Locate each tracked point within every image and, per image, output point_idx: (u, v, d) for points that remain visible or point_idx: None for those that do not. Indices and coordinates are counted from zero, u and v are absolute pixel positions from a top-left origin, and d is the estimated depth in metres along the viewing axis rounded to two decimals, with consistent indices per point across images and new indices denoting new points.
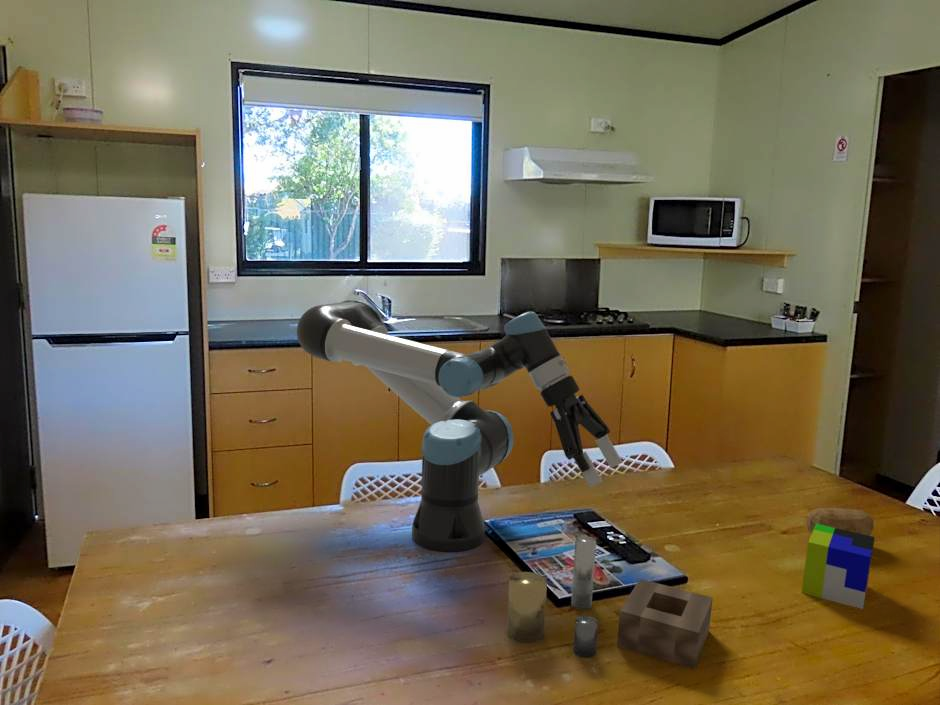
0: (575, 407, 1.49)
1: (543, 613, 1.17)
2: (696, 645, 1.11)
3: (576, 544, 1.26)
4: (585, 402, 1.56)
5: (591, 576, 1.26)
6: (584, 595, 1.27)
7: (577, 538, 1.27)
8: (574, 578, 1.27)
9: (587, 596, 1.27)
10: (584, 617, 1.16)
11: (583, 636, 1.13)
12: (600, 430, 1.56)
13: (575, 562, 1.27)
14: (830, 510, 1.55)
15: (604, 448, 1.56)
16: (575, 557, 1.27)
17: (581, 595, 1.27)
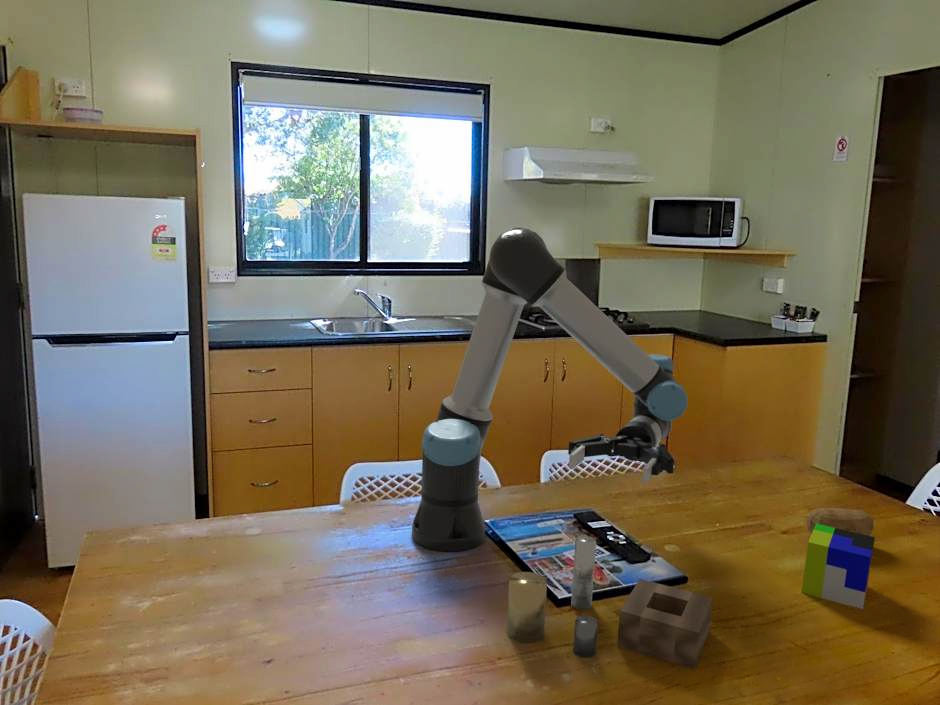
0: None
1: (543, 613, 1.17)
2: (696, 645, 1.11)
3: (576, 544, 1.26)
4: None
5: (591, 576, 1.26)
6: (584, 595, 1.27)
7: (577, 538, 1.27)
8: (574, 578, 1.27)
9: (587, 596, 1.27)
10: (584, 617, 1.15)
11: (583, 636, 1.13)
12: (587, 455, 1.43)
13: (575, 562, 1.27)
14: (830, 510, 1.55)
15: (580, 454, 1.40)
16: (575, 557, 1.27)
17: (581, 595, 1.27)
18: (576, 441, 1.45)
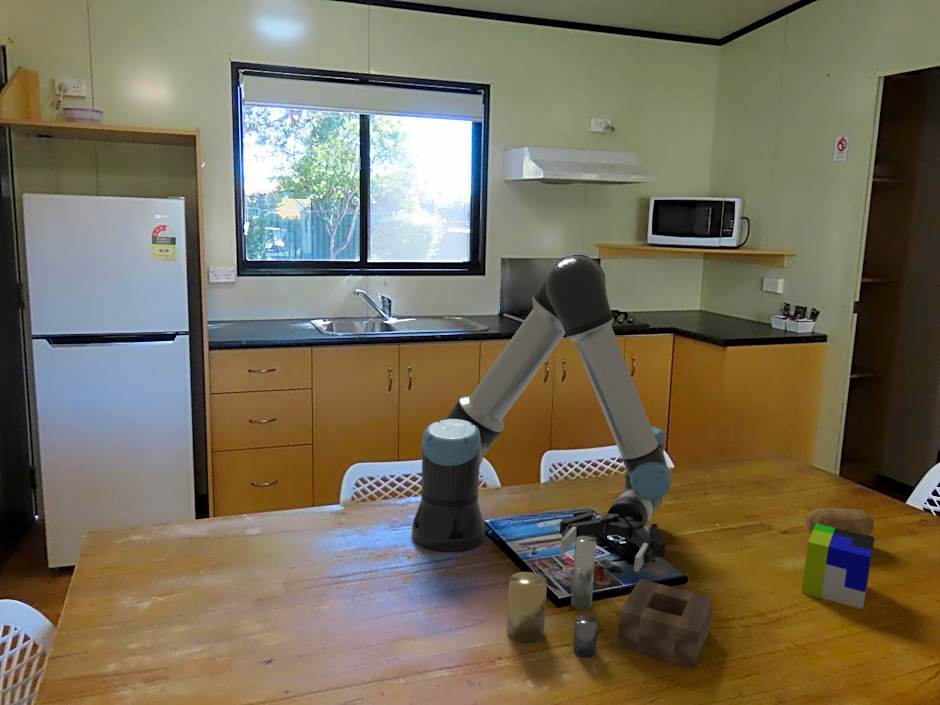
0: None
1: (543, 613, 1.17)
2: (696, 645, 1.11)
3: (576, 544, 1.26)
4: None
5: (591, 576, 1.26)
6: (584, 595, 1.27)
7: (577, 538, 1.27)
8: (574, 578, 1.27)
9: (587, 596, 1.27)
10: (584, 617, 1.15)
11: (583, 636, 1.13)
12: (578, 535, 1.42)
13: (575, 562, 1.27)
14: (830, 510, 1.55)
15: (572, 536, 1.39)
16: (575, 557, 1.27)
17: (581, 595, 1.27)
18: (568, 520, 1.44)
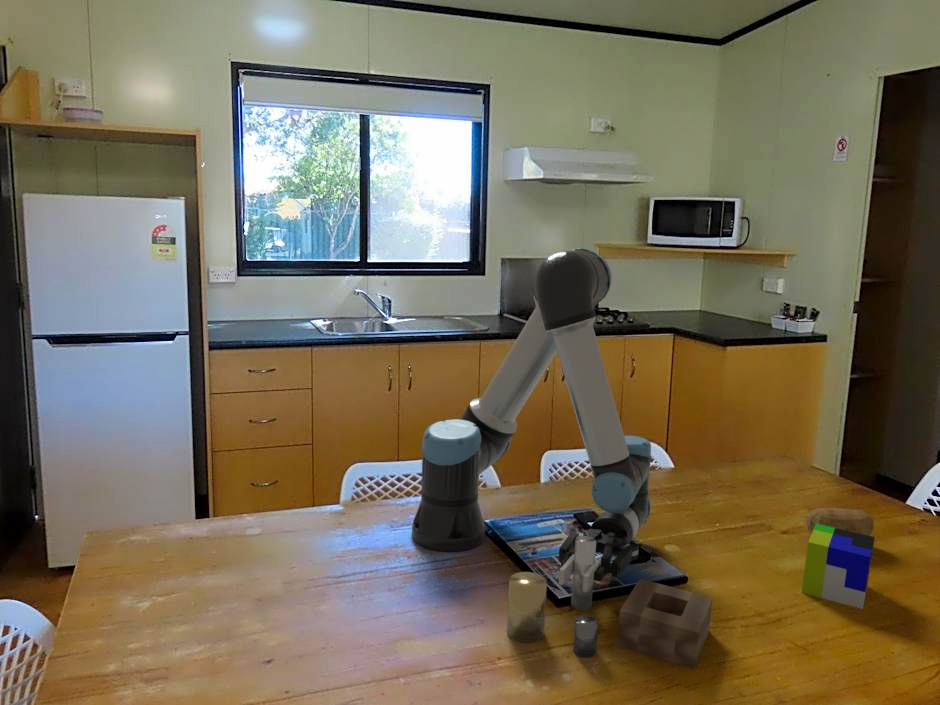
0: None
1: (543, 613, 1.17)
2: (696, 645, 1.11)
3: (576, 544, 1.26)
4: None
5: None
6: (584, 595, 1.27)
7: (577, 538, 1.27)
8: (574, 578, 1.27)
9: (587, 596, 1.27)
10: (584, 617, 1.15)
11: (583, 636, 1.13)
12: None
13: (575, 562, 1.27)
14: (830, 510, 1.55)
15: (572, 565, 1.27)
16: (575, 557, 1.27)
17: (581, 595, 1.27)
18: (565, 546, 1.32)
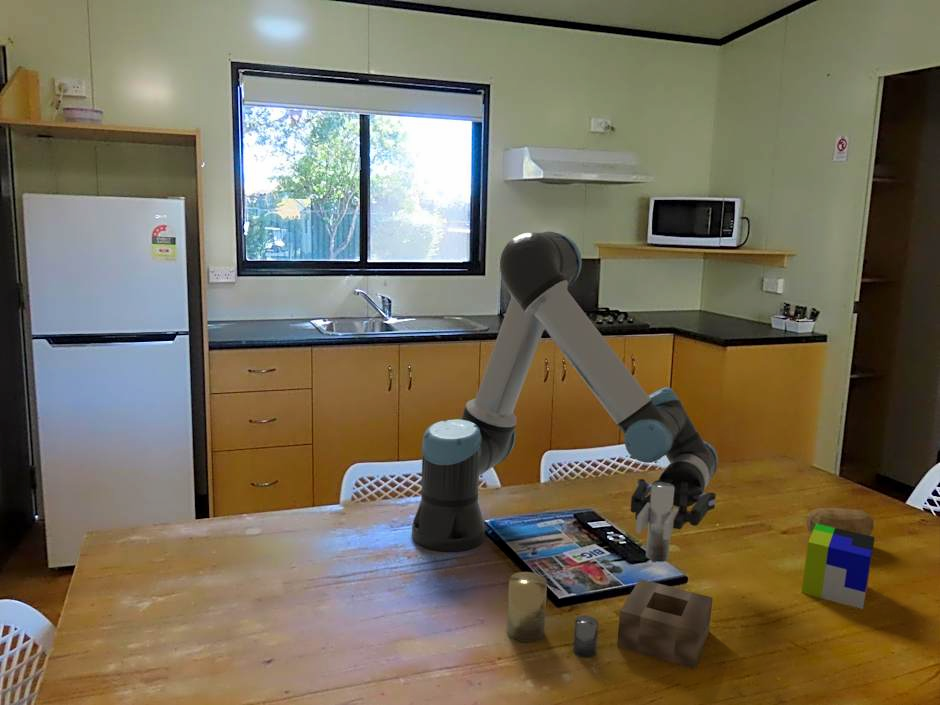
0: None
1: (543, 613, 1.17)
2: (696, 645, 1.11)
3: (653, 490, 1.17)
4: None
5: None
6: (661, 546, 1.17)
7: (653, 484, 1.18)
8: (650, 527, 1.18)
9: (665, 546, 1.17)
10: (584, 617, 1.15)
11: (583, 636, 1.13)
12: None
13: (651, 510, 1.17)
14: (830, 510, 1.55)
15: (648, 514, 1.18)
16: (651, 504, 1.17)
17: (658, 545, 1.17)
18: (637, 495, 1.23)
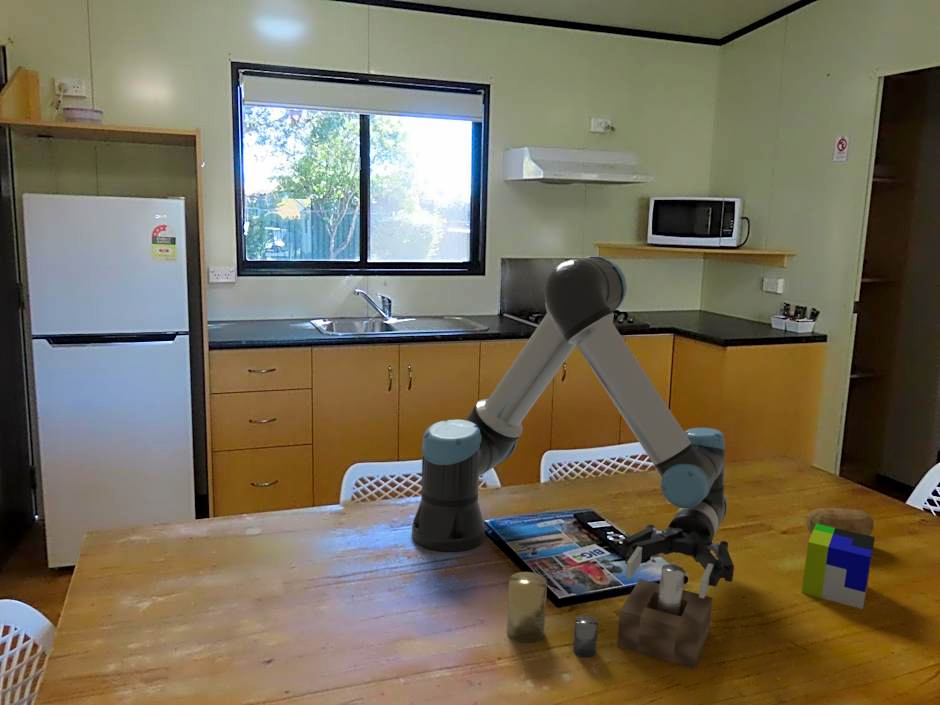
0: None
1: (543, 613, 1.17)
2: (696, 645, 1.11)
3: (663, 574, 1.16)
4: None
5: (678, 608, 1.17)
6: None
7: (664, 567, 1.17)
8: (659, 610, 1.18)
9: None
10: (584, 617, 1.15)
11: (583, 636, 1.13)
12: (643, 556, 1.23)
13: (661, 593, 1.17)
14: (830, 510, 1.55)
15: (638, 558, 1.20)
16: (661, 588, 1.17)
17: None
18: (630, 539, 1.25)
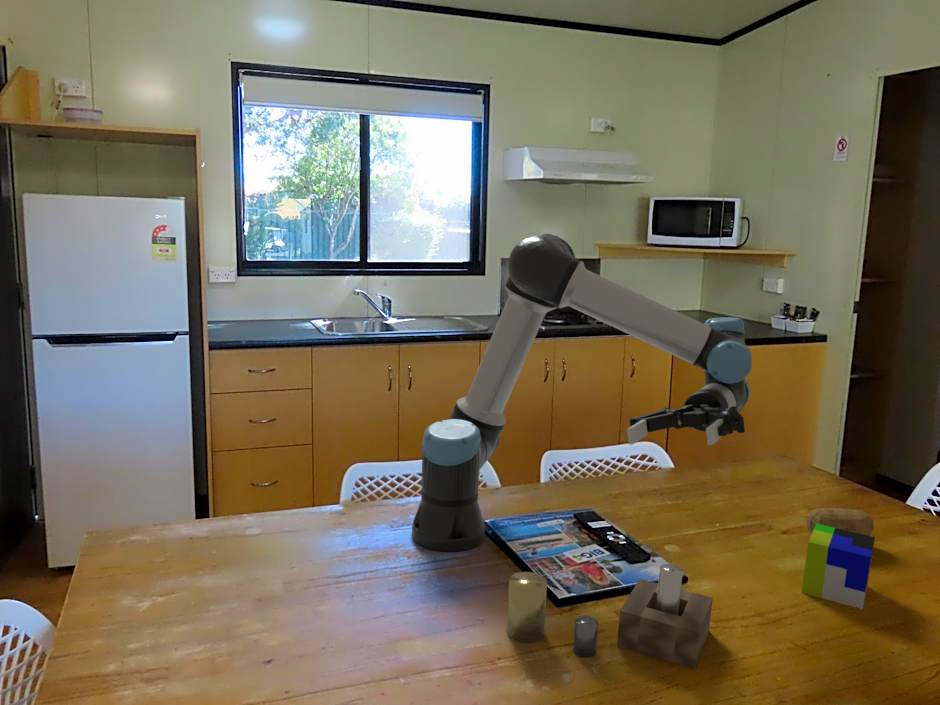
0: None
1: (543, 613, 1.17)
2: (696, 645, 1.11)
3: (661, 573, 1.17)
4: None
5: (677, 607, 1.17)
6: None
7: (661, 567, 1.18)
8: (658, 610, 1.18)
9: None
10: (584, 617, 1.15)
11: (583, 636, 1.13)
12: (651, 430, 1.33)
13: (659, 593, 1.17)
14: (830, 510, 1.55)
15: (641, 428, 1.30)
16: (659, 587, 1.17)
17: None
18: (637, 417, 1.35)
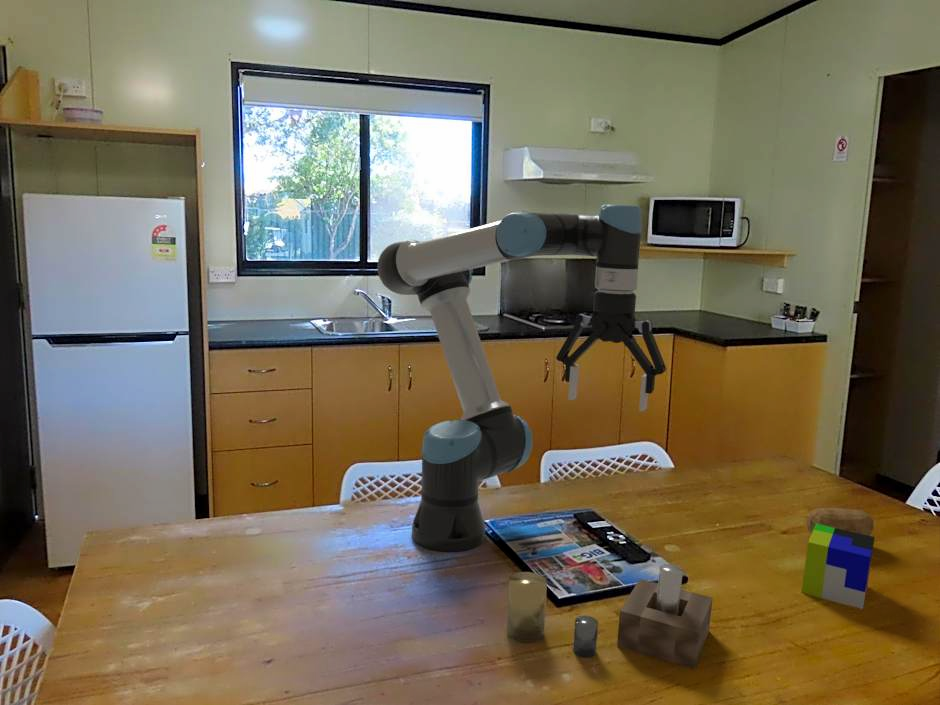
0: (601, 326, 1.35)
1: (543, 613, 1.17)
2: (696, 645, 1.11)
3: (661, 574, 1.17)
4: (643, 331, 1.33)
5: (677, 607, 1.17)
6: None
7: (661, 567, 1.18)
8: (658, 610, 1.18)
9: None
10: (584, 617, 1.15)
11: (583, 636, 1.13)
12: (642, 367, 1.34)
13: (659, 593, 1.17)
14: (830, 510, 1.55)
15: None
16: (659, 587, 1.17)
17: None
18: None
